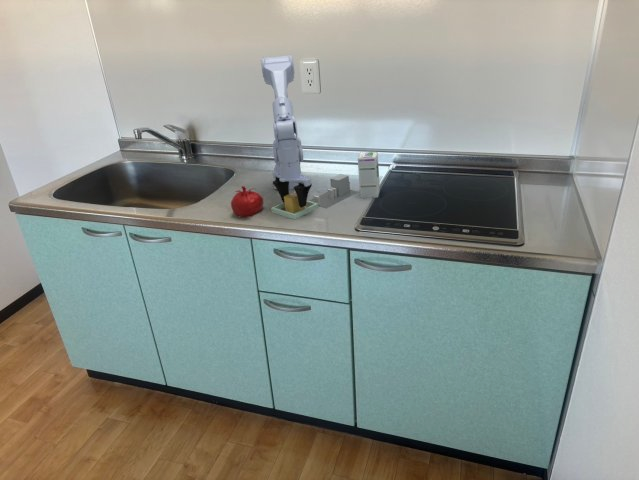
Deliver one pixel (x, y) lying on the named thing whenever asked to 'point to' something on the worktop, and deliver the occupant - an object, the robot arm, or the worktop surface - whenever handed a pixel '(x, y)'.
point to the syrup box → (368, 175)
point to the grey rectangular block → (340, 184)
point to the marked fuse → (292, 203)
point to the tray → (294, 216)
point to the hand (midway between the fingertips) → (294, 203)
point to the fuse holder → (331, 197)
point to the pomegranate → (246, 203)
